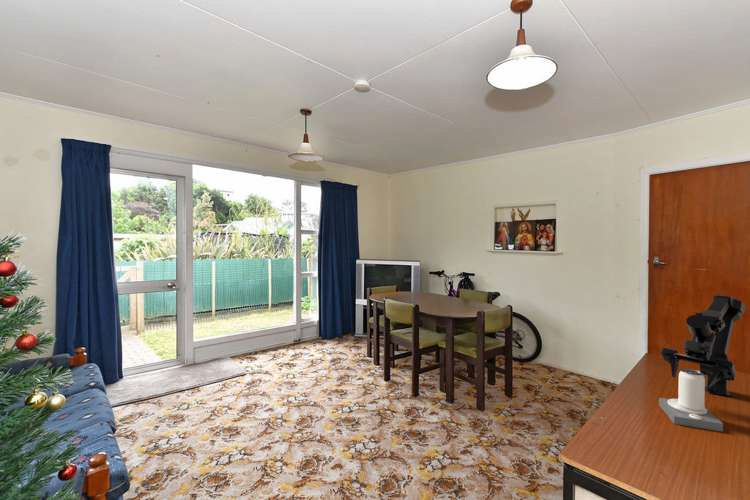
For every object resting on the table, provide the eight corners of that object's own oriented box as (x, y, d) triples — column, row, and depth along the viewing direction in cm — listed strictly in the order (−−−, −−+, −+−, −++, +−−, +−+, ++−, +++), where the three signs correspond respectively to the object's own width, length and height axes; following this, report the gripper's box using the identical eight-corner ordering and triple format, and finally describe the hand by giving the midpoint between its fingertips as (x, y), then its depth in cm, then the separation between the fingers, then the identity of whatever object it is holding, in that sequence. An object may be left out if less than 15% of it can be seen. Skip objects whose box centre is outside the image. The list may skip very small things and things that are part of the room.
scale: (658, 404, 124) (659, 395, 124) (701, 410, 119) (702, 401, 119) (674, 423, 111) (674, 413, 111) (723, 431, 106) (723, 421, 106)
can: (709, 410, 113) (710, 374, 113) (694, 412, 112) (694, 376, 112) (688, 401, 120) (688, 367, 119) (673, 403, 118) (673, 368, 118)
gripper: (663, 325, 128) (650, 361, 123) (734, 337, 112) (723, 378, 107) (671, 342, 133) (659, 377, 127) (740, 356, 117) (730, 396, 111)
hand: (690, 381), depth 118 cm, fingers open, 9 cm apart
